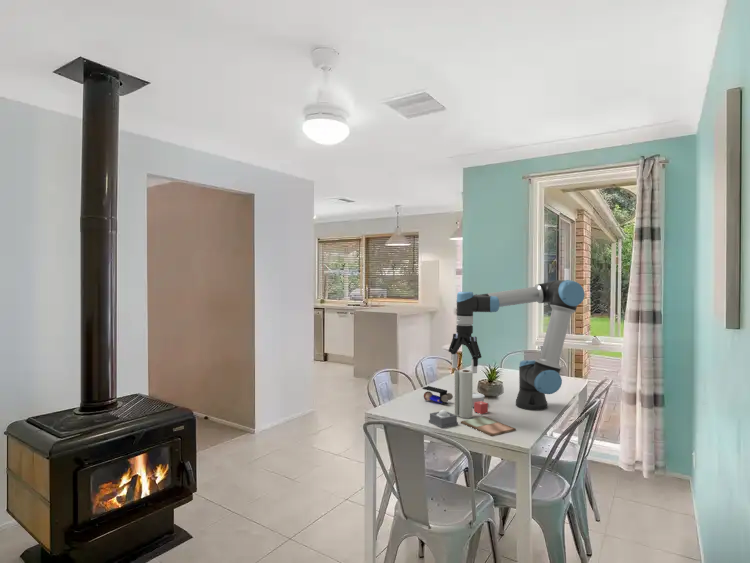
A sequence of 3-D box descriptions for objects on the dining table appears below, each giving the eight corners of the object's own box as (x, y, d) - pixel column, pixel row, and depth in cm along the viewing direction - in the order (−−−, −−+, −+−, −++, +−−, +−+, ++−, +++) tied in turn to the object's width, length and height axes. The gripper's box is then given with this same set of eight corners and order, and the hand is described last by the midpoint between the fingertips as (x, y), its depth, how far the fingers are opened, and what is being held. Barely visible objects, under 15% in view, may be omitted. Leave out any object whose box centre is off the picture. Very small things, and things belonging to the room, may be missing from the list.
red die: (481, 410, 220) (481, 400, 220) (487, 412, 216) (487, 403, 216) (474, 411, 217) (474, 402, 217) (480, 414, 214) (480, 404, 213)
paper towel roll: (474, 416, 210) (474, 370, 210) (468, 419, 206) (468, 372, 205) (461, 413, 215) (461, 368, 215) (454, 416, 210) (454, 370, 210)
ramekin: (481, 402, 234) (481, 391, 234) (487, 408, 223) (487, 397, 223) (459, 402, 234) (459, 392, 234) (464, 408, 223) (464, 398, 223)
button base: (444, 418, 207) (444, 410, 207) (458, 424, 199) (458, 415, 199) (428, 422, 202) (428, 413, 202) (441, 428, 194) (441, 418, 194)
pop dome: (444, 417, 204) (444, 406, 204) (452, 421, 199) (452, 410, 199) (433, 419, 201) (433, 408, 201) (442, 423, 196) (442, 412, 196)
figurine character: (452, 406, 232) (427, 398, 241) (454, 391, 231) (428, 384, 241) (446, 409, 226) (420, 400, 236) (447, 394, 226) (421, 386, 235)
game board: (484, 418, 208) (484, 416, 208) (515, 430, 191) (515, 428, 191) (460, 423, 201) (460, 421, 201) (491, 436, 184) (491, 434, 184)
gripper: (441, 322, 219) (441, 366, 219) (477, 328, 197) (476, 376, 197) (453, 321, 222) (453, 364, 223) (489, 327, 201) (489, 374, 201)
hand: (464, 370), depth 210 cm, fingers open, 13 cm apart
